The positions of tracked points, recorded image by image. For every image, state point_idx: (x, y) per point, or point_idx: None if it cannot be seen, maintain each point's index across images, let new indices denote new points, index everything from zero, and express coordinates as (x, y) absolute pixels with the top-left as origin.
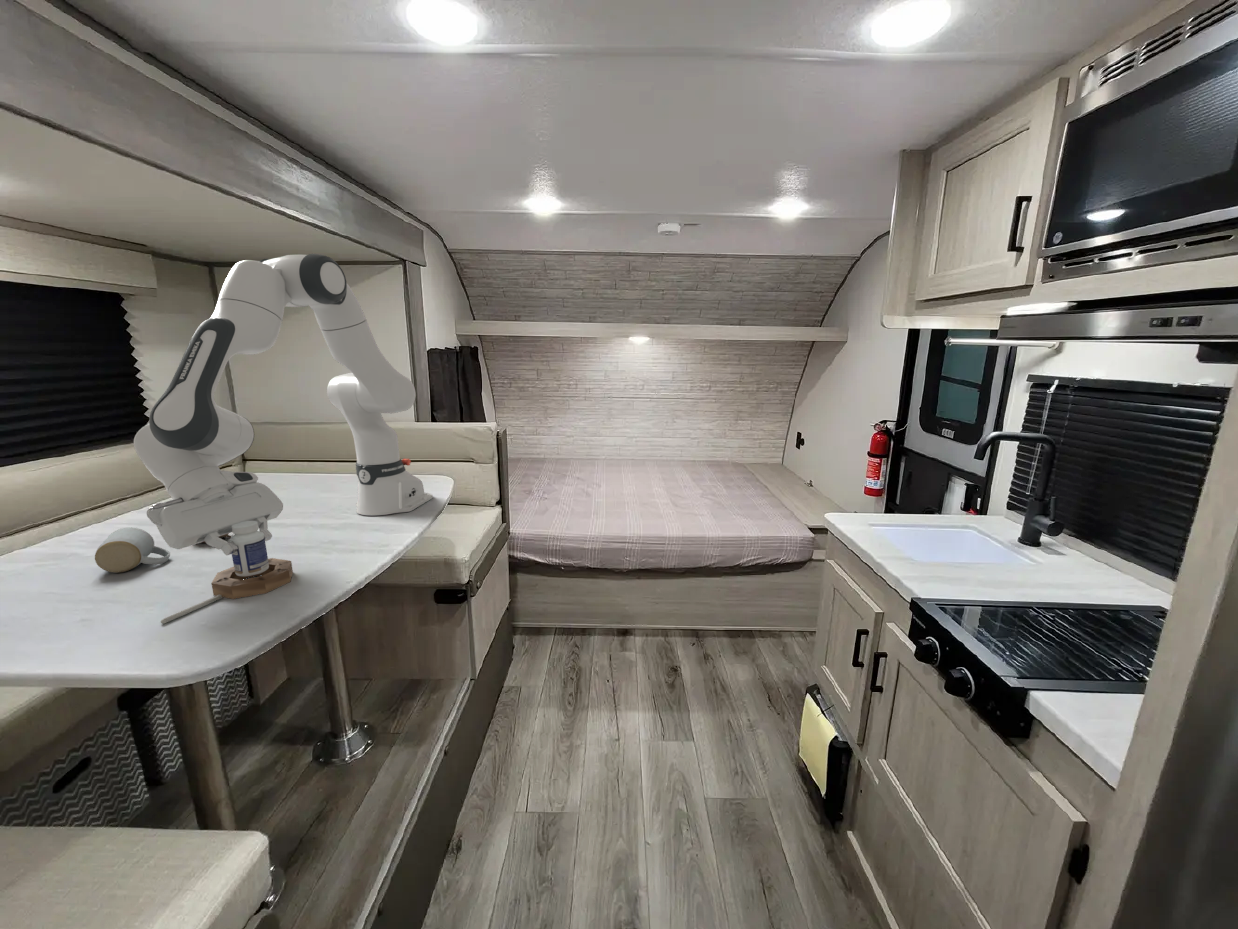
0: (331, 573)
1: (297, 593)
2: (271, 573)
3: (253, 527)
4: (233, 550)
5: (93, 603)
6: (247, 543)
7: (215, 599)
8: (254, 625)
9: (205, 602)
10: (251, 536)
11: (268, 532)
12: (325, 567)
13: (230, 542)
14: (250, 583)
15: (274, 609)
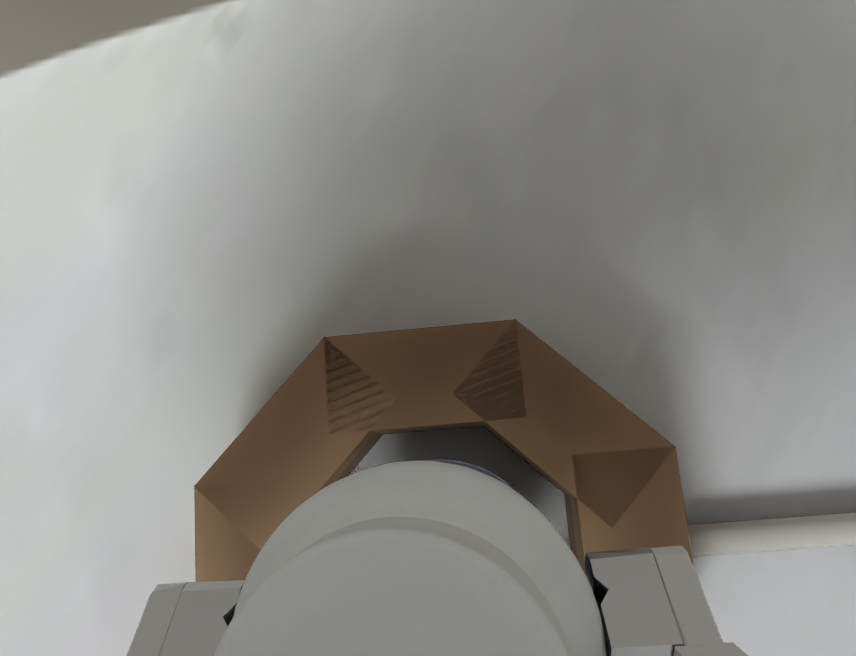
0: (167, 225)
1: (440, 163)
2: (414, 393)
3: (372, 525)
4: (637, 549)
5: None
6: (510, 487)
7: (725, 524)
8: (775, 29)
9: (793, 520)
10: (438, 508)
11: (155, 626)
12: (105, 344)
13: (643, 636)
14: (581, 372)
15: (622, 99)
